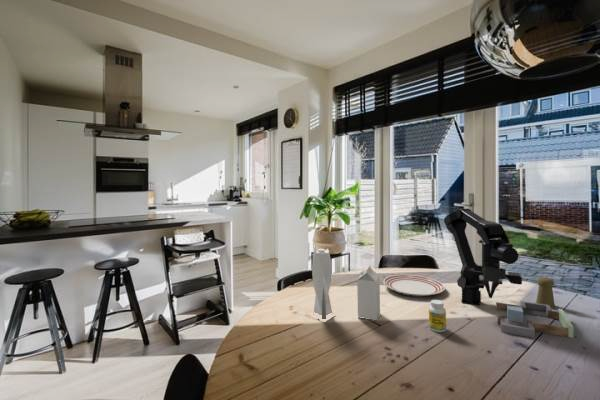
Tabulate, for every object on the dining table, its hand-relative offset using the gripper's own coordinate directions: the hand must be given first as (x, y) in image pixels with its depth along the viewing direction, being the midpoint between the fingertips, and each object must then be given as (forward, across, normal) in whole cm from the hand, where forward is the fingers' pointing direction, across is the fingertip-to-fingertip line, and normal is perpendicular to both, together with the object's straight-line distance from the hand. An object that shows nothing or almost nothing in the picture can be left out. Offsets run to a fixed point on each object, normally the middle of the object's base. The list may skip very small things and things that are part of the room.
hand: (490, 297), depth 114 cm
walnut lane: (+6, +12, 0) cm, 14 cm away
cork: (+7, +19, +20) cm, 28 cm away
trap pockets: (+6, +12, 0) cm, 14 cm away
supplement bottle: (+7, -16, -21) cm, 27 cm away
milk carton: (+7, -40, -22) cm, 46 cm away
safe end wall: (+6, +22, 0) cm, 23 cm away
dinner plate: (+7, -31, +16) cm, 35 cm away
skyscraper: (+7, -56, -30) cm, 64 cm away
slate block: (+7, +8, 0) cm, 10 cm away
